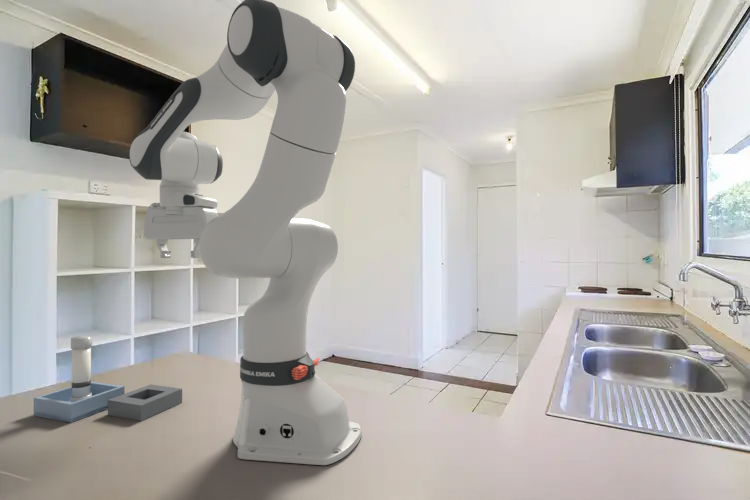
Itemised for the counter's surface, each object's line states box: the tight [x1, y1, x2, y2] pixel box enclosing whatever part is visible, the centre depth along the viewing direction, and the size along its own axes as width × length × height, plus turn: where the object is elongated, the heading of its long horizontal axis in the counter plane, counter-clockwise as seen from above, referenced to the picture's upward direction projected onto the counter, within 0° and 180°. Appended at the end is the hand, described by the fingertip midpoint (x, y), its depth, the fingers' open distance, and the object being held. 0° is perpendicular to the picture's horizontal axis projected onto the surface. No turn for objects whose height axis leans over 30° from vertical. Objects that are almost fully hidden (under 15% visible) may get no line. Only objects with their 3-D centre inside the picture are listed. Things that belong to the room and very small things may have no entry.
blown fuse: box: [70, 335, 93, 403], centre depth 84 cm, size 4×4×14 cm
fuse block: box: [107, 383, 183, 422], centre depth 84 cm, size 9×10×3 cm
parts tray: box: [33, 381, 125, 424], centre depth 84 cm, size 11×11×4 cm
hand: (180, 258), depth 97 cm, fingers open, 8 cm apart
